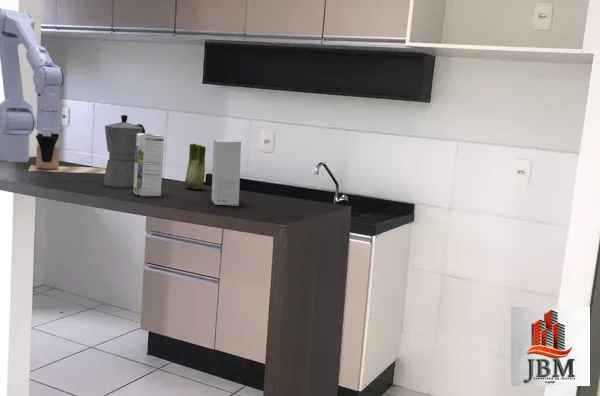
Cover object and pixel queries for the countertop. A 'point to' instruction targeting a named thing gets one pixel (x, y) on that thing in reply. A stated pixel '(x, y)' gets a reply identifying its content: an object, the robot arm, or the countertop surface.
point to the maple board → (69, 169)
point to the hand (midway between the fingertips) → (47, 160)
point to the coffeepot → (121, 153)
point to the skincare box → (226, 172)
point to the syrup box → (148, 164)
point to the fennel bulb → (196, 167)
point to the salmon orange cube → (52, 164)
